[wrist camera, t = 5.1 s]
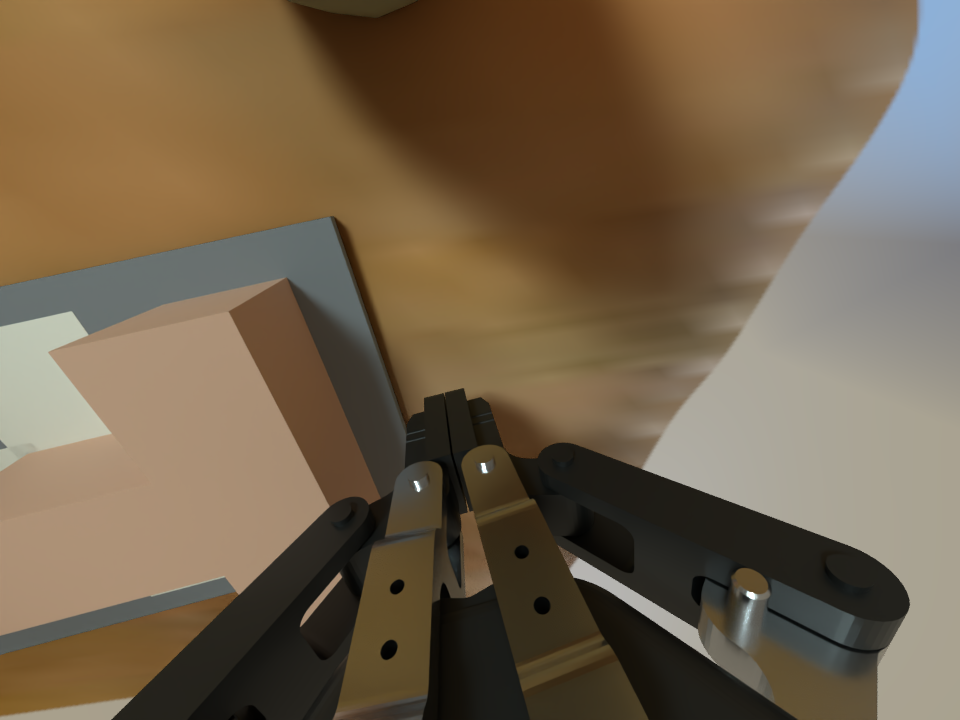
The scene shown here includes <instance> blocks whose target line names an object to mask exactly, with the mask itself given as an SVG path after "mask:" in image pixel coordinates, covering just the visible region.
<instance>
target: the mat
mask: <svg viewBox="0 0 960 720" xmlns="http://www.w3.org/2000/svg"><path fill="white" fill-rule="evenodd" d="M286 277H287V280H288V282H289V284H290V287H291V289H292V291H293V294H294V296H295V298H296V301H297V303H298V305H299V308H300V310H301V312H302V315H303V317H304V319H305V322H306V324H307V326H308V329H309V331H310V333H311V336H312V338H313V341H314V343H315V345H316V348H317V350H318V352H319V355H320V357H321V359H322V362H323V364H324V366H325V369H326V371H327V373H328V376H329V378H330V380H331V383H332V385H333V387H334V390H335V392H336V394H337V397H338V399H339V401H340V404H341V406H342V409H343V411H344V413H345V416H346V418H347V420H348V423H349V425H350V427H351V430H352V432H353V434H354V437H355V439H356V441H357V444H358V446H359V448H360V451H361V453H362V455H363V458H364V460H365V462H366V465H367V467H368V469H369V472H370V474H371V477H372V479H373V481H374V484H375V486H376V488H377V491H378V493H379V495H380V498H383V497H384V496H386V495H388V494H389V493H390V492H392V491H393V490H394V486H395V481H396V479H397V477H398V475H399V474H400V473H401V472H402V471H403V470H404V469H405V451H406V435H407V434H406V433H407V428H406V425H405V423H404V420H403V417H402V414H401V411H400V408H399V405H398V402H397V399H396V396H395V394H394V391H393V388H392V385H391V382H390V379H389V376H388V373H387V370H386V367H385V364H384V362H383V359H382V356H381V353H380V350H379V347H378V344H377V341H376V338H375V335H374V332H373V330H372V327H371V324H370V321H369V318H368V315H367V312H366V309H365V306H364V303H363V300H362V298H361V295H360V292H359V289H358V286H357V283H356V280H355V277H354V274H353V271H352V268H351V266H350V263H349V260H348V257H347V254H346V251H345V248H344V245H343V242H342V239H341V236H340V234H339V231H338V228H337V225H336V222H335V219H334V216H331V217H326V218H322V219H317V220H312V221H308V222H303V223H298V224H294V225H289V226H284V227H279V228H275V229H270V230H265V231H261V232H256V233H251V234H247V235H242V236H237V237H232V238H228V239H223V240H218V241H214V242H209V243H204V244H200V245H195V246H190V247H185V248H181V249H176V250H171V251H167V252H162V253H157V254H153V255H148V256H143V257H138V258H134V259H129V260H124V261H120V262H115V263H110V264H105V265H101V266H96V267H91V268H87V269H82V270H77V271H73V272H68V273H63V274H58V275H54V276H49V277H44V278H40V279H35V280H30V281H26V282H21V283H16V284H11V285H7V286H2V287H0V471H2V470H3V469H5V468H7V467H8V466H10V465H11V464H13V463H14V462H16V461H17V460H19V459H20V458H22V457H23V456H25V455H27V454H29V453H33V452H37V451H41V450H46V449H50V448H54V447H58V446H62V445H67V444H71V443H75V442H79V441H83V440H87V439H92V438H96V437H100V436H104V435H108V434H112V433H111V432H110V431H109V429H108V428H107V427H106V425H105V424H104V423H103V422H102V420H101V419H100V418H99V417H98V415H97V414H96V413H95V412H94V410H93V409H92V408H91V406H90V405H89V404H88V403H87V401H86V400H85V399H84V398H83V396H82V395H81V394H80V392H79V391H78V390H77V389H76V387H75V386H74V385H73V384H72V382H71V381H70V380H69V379H68V377H67V376H66V375H65V373H64V372H63V371H62V370H61V368H60V367H59V366H58V365H57V363H56V362H55V361H54V359H53V358H52V357H51V356H50V354H49V353H48V352H49V351H51V350H54V349H56V348H59V347H61V346H64V345H66V344H68V343H71V342H73V341H76V340H78V339H81V338H83V337H85V336H88V335H90V334H93V333H95V332H98V331H100V330H103V329H105V328H107V327H110V326H112V325H115V324H117V323H120V322H122V321H124V320H127V319H129V318H132V317H134V316H137V315H139V314H142V313H144V312H146V311H149V310H151V309H154V308H156V307H159V306H161V305H164V304H168V303H173V302H177V301H182V300H186V299H191V298H195V297H200V296H204V295H209V294H214V293H218V292H223V291H227V290H232V289H236V288H241V287H245V286H250V285H254V284H259V283H263V282H268V281H272V280H277V279H281V278H286ZM232 592H236V590H235V589H234V588H233V587H232V585H231V584H230V583H229V582H228V580H227V579H226V578H225V576H222V577H218V578H215V579H211V580H207V581H203V582H200V583H196V584H192V585H188V586H185V587H181V588H177V589H173V590H170V591H166V592H162V593H158V594H155V595H151V596H147V597H143V598H140V599H136V600H132V601H128V602H125V603H121V604H117V605H113V606H110V607H106V608H102V609H98V610H95V611H91V612H87V613H83V614H80V615H76V616H72V617H68V618H65V619H61V620H57V621H53V622H50V623H46V624H42V625H38V626H35V627H31V628H27V629H23V630H20V631H16V632H12V633H8V634H5V635H1V636H0V655H1V654H5V653H9V652H12V651H16V650H20V649H23V648H27V647H31V646H35V645H38V644H42V643H46V642H50V641H53V640H57V639H61V638H64V637H68V636H72V635H76V634H79V633H83V632H87V631H91V630H94V629H98V628H102V627H105V626H109V625H113V624H117V623H120V622H124V621H128V620H132V619H135V618H139V617H143V616H146V615H150V614H154V613H158V612H161V611H165V610H169V609H173V608H176V607H180V606H184V605H187V604H191V603H195V602H199V601H202V600H206V599H210V598H214V597H217V596H221V595H225V594H228V593H232Z"/></svg>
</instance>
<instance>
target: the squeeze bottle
mask: <svg viewBox="0 0 960 720" xmlns="http://www.w3.org/2000/svg"><path fill="white" fill-rule="evenodd" d="M288 1H289V2H293V3H297V4H301V5H304V6H308V7H312V8H316V9H319V10H323V11H327V12H330V13H336V14H345V15H354V16H363V17H371V18H378V17H381V16H383V15H385V14H388V13H390V12H393V11H395V10H397V9H400V8H402V7H404V6H407V5H409V4H412V3H414V2H416V1H417V0H288Z"/></svg>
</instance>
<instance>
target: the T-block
mask: <svg viewBox="0 0 960 720" xmlns="http://www.w3.org/2000/svg"><path fill="white" fill-rule="evenodd" d="M48 353H49V354H50V356H51V357H52V358H53V359H54V361H55V362H56V363H57V365H58V366H59V367H60V368H61V370H62V371H63V372H64V373H65V375H66V376H67V377H68V379H69V380H70V381H71V382H72V384H73V385H74V386H75V387H76V389H77V390H78V391H79V392H80V394H81V395H82V396H83V398H84V399H85V400H86V401H87V403H88V404H89V405H90V406H91V408H92V409H93V410H94V412H95V413H96V414H97V415H98V417H99V418H100V419H101V420H102V422H103V423H104V424H105V425H106V427H107V428H108V429H109V431H110V432H111V433H112V434H108V435H104V436H100V437H96V438H92V439H87V440H83V441H79V442H75V443H71V444H67V445H62V446H58V447H54V448H50V449H46V450H41V451H37V452H33V453H29V454H27V455H25V456H23V457H22V458H20V459H19V460H17V461H16V462H14V463H13V464H11V465H10V466H8V467H7V468H5V469H3V470H2V471H0V636H1V635H5V634H8V633H12V632H16V631H20V630H23V629H27V628H31V627H35V626H38V625H42V624H46V623H50V622H53V621H57V620H61V619H65V618H68V617H72V616H76V615H80V614H83V613H87V612H91V611H95V610H98V609H102V608H106V607H110V606H113V605H117V604H121V603H125V602H128V601H132V600H136V599H140V598H143V597H147V596H151V595H155V594H158V593H162V592H166V591H170V590H173V589H177V588H181V587H185V586H188V585H192V584H196V583H200V582H203V581H207V580H211V579H215V578H218V577H222V576H225V578H226V579H227V580H228V582H229V583H230V584H231V585H232V587H233V588H234V589H235V590H236V592H237V593H238V594H239V595H240V594H241V593H242V592H243V591H244V590H245V589H246V588H247V587H248V586H249V585H250V584H251V583H252V582H253V581H254V580H255V579H256V578H257V577H258V576H259V575H260V574H261V573H262V572H263V571H264V570H265V569H266V568H267V567H268V566H269V565H270V564H271V563H272V562H273V561H274V560H275V559H276V558H277V557H278V556H279V555H280V554H281V553H283V552H284V551H285V550H286V549H287V548H288V547H289V546H290V545H291V544H292V543H293V542H294V541H295V540H296V539H297V538H298V537H299V536H300V535H301V534H302V533H303V532H304V531H305V530H306V529H307V528H308V527H309V526H310V525H311V524H312V523H313V522H314V521H315V520H316V519H317V518H318V517H319V516H320V515H321V514H322V513H323V512H324V511H326V510H327V509H328V508H329V507H330V506H331V505H333V504H334V503H336V502H338V501H340V500H342V499H345V498H348V497H361V498H363V499H365V500H366V501H367V503H368V504H371V503H373V502H375V501H377V500H379V499H381V498H380V495H379V493H378V491H377V488H376V486H375V484H374V481H373V479H372V477H371V474H370V472H369V469H368V467H367V465H366V462H365V460H364V458H363V455H362V453H361V451H360V448H359V446H358V444H357V441H356V439H355V437H354V434H353V432H352V430H351V427H350V425H349V423H348V420H347V418H346V416H345V413H344V411H343V409H342V406H341V404H340V401H339V399H338V397H337V394H336V392H335V390H334V387H333V385H332V383H331V380H330V378H329V376H328V373H327V371H326V369H325V366H324V364H323V362H322V359H321V357H320V355H319V352H318V350H317V348H316V345H315V343H314V341H313V338H312V336H311V333H310V331H309V329H308V326H307V324H306V322H305V319H304V317H303V315H302V312H301V310H300V308H299V305H298V303H297V301H296V298H295V296H294V294H293V291H292V289H291V287H290V284H289V282H288V280H287V277H286V278H281V279H277V280H272V281H268V282H263V283H259V284H254V285H250V286H245V287H241V288H236V289H232V290H227V291H223V292H218V293H214V294H209V295H204V296H200V297H195V298H191V299H186V300H182V301H177V302H173V303H168V304H164V305H161V306H159V307H156V308H154V309H151V310H149V311H146V312H144V313H142V314H139V315H137V316H134V317H132V318H129V319H127V320H124V321H122V322H120V323H117V324H115V325H112V326H110V327H107V328H105V329H103V330H100V331H98V332H95V333H93V334H90V335H88V336H85V337H83V338H81V339H78V340H76V341H73V342H71V343H68V344H66V345H64V346H61V347H59V348H56V349H54V350H51V351H49V352H48ZM341 578H342V576H341V575H340V573H338V574H337V576H336V577H335V578H334V579H333V580H332V581H331V583H330V584H329V585H328V586H327V587H326V589H325V590H324V591H323V592H322V593H321V594H320V596H319V597H318V598H317V599H316V600H315V601H314V603H313V604H312V605H311V606H310V607H309V609H308V610H307V611H306V613H305V614H304V616H303V618H302V621H301V624H300V627H301V626H302V625H303V624H304V623H305V621H306V620H307V619H308V618H309V617H310V615H311V614H312V613H313V612H314V611H315V609H316V608H317V607H318V606H319V604H320V603H321V602H322V601H323V600H324V598H325V597H326V596H327V595H328V594H329V592H330V591H331V590H332V589H333V588H334V586H335V585H336V584H337V583H338V582H339V580H340V579H341Z"/></svg>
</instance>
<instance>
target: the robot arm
mask: <svg viewBox="0 0 960 720" xmlns="http://www.w3.org/2000/svg"><path fill="white" fill-rule="evenodd" d="M445 398H446V399H445ZM406 434H407V435H406V451H405V469H404V470H403V471H402V472H401V473H400V474H399V475H398V477H397V479H396V481H395V486H394V490H393V491H392V492H390V493H389V494H388V495H386V496H384V497H383V498H381V499H379V500H377V501H375V502H373V503H371V504H368V503H367V501H366V500H365V499H363V498H361V497H348V498H345V499H342V500H340V501H338V502H336V503H334V504H333V505H331V506H330V507H329V508H328V509H327V510H326V511H324V512H323V513H322V514H321V515H320V516H319V517H318V518H317V519H316V520H315V521H314V522H313V523H312V524H311V525H310V526H309V527H308V528H307V529H306V530H305V531H304V532H303V533H302V534H301V535H300V536H299V537H298V538H297V539H296V540H295V541H294V542H293V543H292V544H291V545H290V546H289V547H288V548H287V549H286V550H285V551H284V552H283V553H281V554H280V555H279V556H278V557H277V558H276V559H275V560H274V561H273V562H272V563H271V564H270V565H269V566H268V567H267V568H266V569H265V570H264V571H263V572H262V573H261V574H260V575H259V576H258V577H257V578H256V579H255V580H254V581H253V582H252V583H251V584H250V585H249V586H248V587H247V588H246V589H245V590H244V591H243V592H242V593H241V594H240V595H238V596H237V597H236V598H235V599H234V600H233V601H232V602H231V603H230V604H229V605H228V606H227V607H226V608H225V609H224V610H223V611H222V612H221V613H220V614H219V615H218V616H217V617H216V618H215V619H214V620H213V621H212V622H211V623H210V624H209V625H208V626H207V627H206V628H205V629H204V630H203V631H202V632H201V633H200V634H199V635H198V636H197V637H195V638H194V639H193V640H192V641H191V642H190V643H189V644H188V645H187V646H186V647H185V648H184V649H183V650H182V651H181V652H180V653H179V654H178V655H177V656H176V657H175V658H174V659H173V660H172V661H171V662H170V663H169V664H168V665H167V666H166V667H165V668H164V669H163V670H162V671H161V672H160V673H159V674H158V675H157V676H156V677H155V678H154V679H152V680H151V681H150V682H149V683H148V684H147V685H146V686H145V687H144V688H143V689H142V690H141V691H140V692H139V693H138V694H137V695H136V696H135V697H134V698H133V699H132V700H131V701H130V702H129V703H128V704H127V705H126V706H125V707H124V708H123V709H122V710H121V711H120V712H119V713H118V714H117V715H116V716H115V717H114V718H113V719H112V720H877V666H878V664H879V663H880V661H881V659H882V657H883V656H884V654H885V652H886V650H887V648H888V647H889V645H890V643H891V641H892V639H893V637H894V636H895V634H896V632H897V630H898V628H899V627H900V625H901V623H902V621H903V619H904V618H905V616H906V614H907V612H908V610H909V606H910V603H909V597H908V594H907V591H906V590H905V588H904V586H903V585H902V583H901V582H900V581H899V579H898V578H897V577H896V576H895V575H894V574H893V573H892V572H891V571H890V570H889V569H887V568H886V567H885V566H884V565H883V564H881V563H880V562H879V561H877V560H876V559H874V558H873V557H871V556H869V555H868V554H866V553H864V552H862V551H860V550H858V549H855V548H853V547H851V546H848V545H845V544H843V543H840V542H837V541H834V540H832V539H829V538H826V537H824V536H821V535H818V534H815V533H813V532H810V531H807V530H804V529H802V528H799V527H797V526H794V525H791V524H789V523H785V522H783V521H780V520H777V519H775V518H772V517H770V516H767V515H764V514H761V513H759V512H756V511H753V510H750V509H748V508H745V507H743V506H740V505H737V504H734V503H732V502H729V501H726V500H723V499H721V498H718V497H715V496H713V495H710V494H707V493H705V492H702V491H699V490H697V489H694V488H691V487H688V486H686V485H683V484H680V483H678V482H675V481H672V480H669V479H667V478H664V477H661V476H659V475H656V474H653V473H651V472H648V471H645V470H643V469H640V468H637V467H634V466H632V465H629V464H626V463H624V462H621V461H618V460H616V459H613V458H610V457H607V456H605V455H602V454H599V453H597V452H594V451H591V450H588V449H586V448H583V447H580V446H578V445H575V444H571V443H557V444H553V445H550V446H548V447H546V448H545V449H543V450H542V451H541V453H540V454H539V456H538V458H536V459H525V458H519V457H515V456H513V455H511V454H509V453H508V452H507V451H506V450H505V449H504V447H503V444H502V441H501V438H500V435H499V432H498V429H497V426H496V423H495V420H494V418H493V415H492V412H491V409H490V406H489V403H488V402H486V401H485V400H484V399H482V398H481V397H480V398H476V399H472V400H468V401H467V399H466V395H465V391H464V388H462V389H458V390H454V391H450V392H446V393H445V396H444V393H442V394H438V395H434V396H430V397H426V398H424V412H421V413H417V414H413V415H412V417H411V419H410V420H409V422H408V423H407V433H406ZM465 497H466V498H465ZM466 500H467V504H468V507H469V511H474V515H475V519H476V523H477V526H478V530H479V534H480V537H481V541H482V545H483V548H484V552H485V556H486V559H487V563H488V567H489V570H490V574H491V578H492V581H493V584H492V585H490V586H489V587H487V588H485V589H484V590H482V591H480V592H478V593H477V594H475V595H473V596H471V597H468V598H466V593H465V569H464V546H463V535H462V531H461V518H460V514H463V513H467V512H468V511H467V505H466ZM557 545H559V546H560V547H562V548H564V549H565V550H567V551H569V552H570V553H572V554H574V555H575V556H577V557H578V558H580V559H582V560H583V561H585V562H587V563H589V564H590V565H592V566H593V567H595V568H597V569H598V570H600V571H602V572H603V573H605V574H607V575H608V576H610V577H612V578H613V579H615V580H617V581H618V582H620V583H622V584H623V585H625V586H627V587H628V588H630V589H632V590H633V591H635V592H637V593H638V594H640V595H642V596H643V597H645V598H647V599H648V600H650V601H652V602H653V603H655V604H657V605H658V606H660V607H661V608H663V609H665V610H666V611H668V612H670V613H671V614H673V615H675V616H676V617H678V618H680V619H681V620H683V621H685V622H686V623H688V624H690V625H692V626H693V627H695V628H696V629H698V633H699V636H700V639H701V642H702V644H703V646H704V648H705V649H706V650H707V652H708V654H709V655H710V656H711V658H712V659H713V660H714V661H715V662H716V663H717V664H718V665H719V666H718V665H717V664H715V663H714V662H712V661H711V660H709V659H708V658H707V657H705V656H703V655H702V654H701V653H699V652H698V651H696V650H695V649H693V648H692V647H690V646H689V645H687V644H686V643H684V642H683V641H681V640H680V639H678V638H677V637H676V636H674V635H673V634H671V633H670V632H668V631H667V630H665V629H663V628H662V627H661V626H659V625H658V624H656V623H655V622H653V621H652V620H650V619H649V618H647V617H646V616H645V615H643V614H642V613H640V612H639V611H637V610H636V609H634V608H633V607H631V606H630V605H628V604H627V603H625V602H624V601H622V600H621V599H619V598H618V597H616V596H615V595H614V594H612V593H610V592H609V591H607V590H605V589H603V588H601V587H599V586H597V585H595V584H593V583H590V582H587V581H585V580H581V579H577V578H573V576H572V574H571V572H570V570H569V568H568V566H567V564H566V562H565V560H564V558H563V556H562V554H561V552H560V550H559V548H558V546H557ZM338 573H340V575H341V576H342V578H341V579H340V580H339V582H338V583H337V584H336V585H335V586H334V588H333V589H332V590H331V591H330V592H329V594H328V595H327V596H326V597H325V598H324V600H323V601H322V602H321V603H320V604H319V606H318V607H317V608H316V609H315V611H314V612H313V613H312V614H311V615H310V617H309V618H308V619H307V620H306V621H305V623H304V624H303V625H302V626H301V627H300V624H301V621H302V618H303V616H304V614H305V613H306V611H307V610H308V609H309V607H310V606H311V605H312V604H313V603H314V601H315V600H316V599H317V598H318V597H319V596H320V594H321V593H322V592H323V591H324V590H325V589H326V587H327V586H328V585H329V584H330V583H331V581H332V580H333V579H334V578H335V577H336V576H337V574H338Z"/></svg>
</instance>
